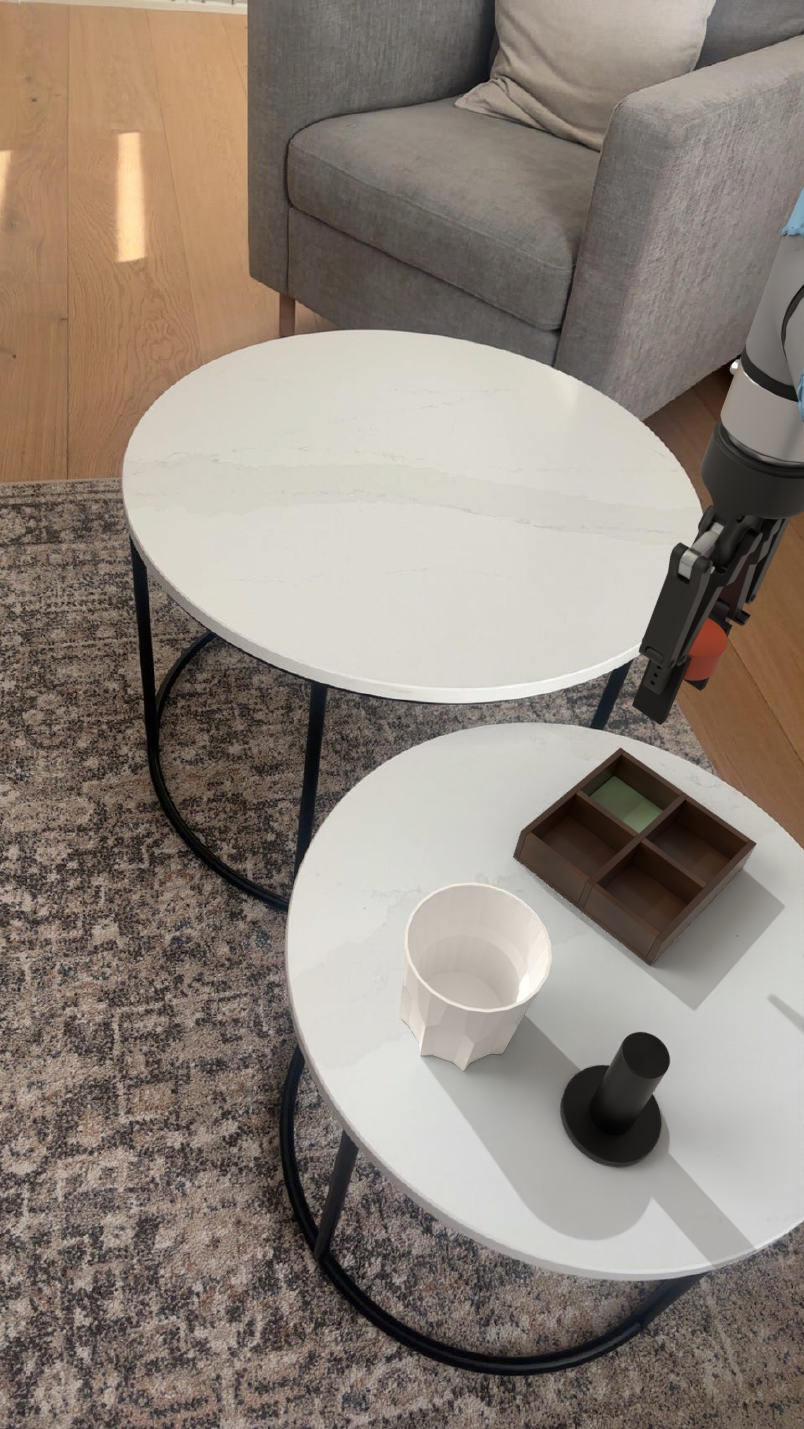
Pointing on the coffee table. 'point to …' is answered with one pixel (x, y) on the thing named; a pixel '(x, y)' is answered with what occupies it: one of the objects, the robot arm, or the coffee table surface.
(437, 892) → the cup
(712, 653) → the token
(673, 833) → the grid
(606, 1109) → the stand
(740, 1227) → the coffee table surface
